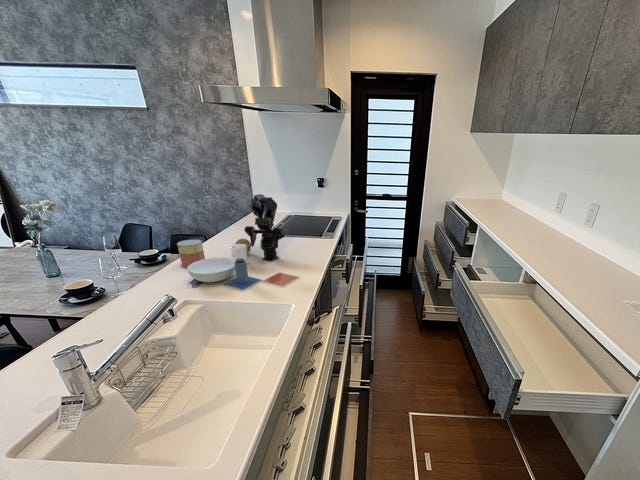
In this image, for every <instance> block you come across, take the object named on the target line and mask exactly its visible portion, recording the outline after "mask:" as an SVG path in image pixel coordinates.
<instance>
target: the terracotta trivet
mask: <svg viewBox="0 0 640 480" xmlns="http://www.w3.org/2000/svg"><path fill="white" fill-rule="evenodd" d="M298 278H299V276H296V275H293V274H292V275H291V274H287V273H282V272H278V273H275V274H273V275H272V276H270V277H268V278H266V279H264V280H263V282H264V283H268V284H272V285H276V286H280V287H284V286H286V285H288V284H290V283H291V282H293V281H294V280H297V279H298Z"/></svg>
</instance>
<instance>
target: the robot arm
mask: <svg viewBox="0 0 640 480" xmlns="http://www.w3.org/2000/svg"><path fill="white" fill-rule="evenodd" d="M277 209H278V203H277V202H276V200H274V199H273V197H271V196H270V197H266V196H265V195H264V194H262V193H261V194H254V195H253V198H252V199H251V200H250V210H251V211H252V213H253V215H254V216H256V217H255V218H254V225H255V226H257V228H255V227H254V226H252V225H251V226H250V225H246V226H245V227H244V229H243V231H244V232H245V234H246V235H247V236H249V238H250V243H251V248H254V246H255V243H256V240H257V238H258V237H257V235H258V234H261V239H260V243H259V244H260V249H261V250H262V251H263V257H262V258H261V259H262V260H265V261H269V262H272V261H274V260H277V259H279V256H278V254H277V250H276V249H278V248H279V240H282V239H284V238H285V236H286V232H285V231H284V230H283V228H282V227H275V224H274V221H275V218H276V217H275V216H276V213H277Z"/></svg>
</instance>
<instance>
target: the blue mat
mask: <svg viewBox="0 0 640 480" xmlns="http://www.w3.org/2000/svg"><path fill="white" fill-rule="evenodd" d="M248 278H249V282H248V283H246V284H238V283H237V277H236V278H234V279H231V280H230V281H228V282H225V283H223V284H222V285H223V286H228V287H231V288H235V289H239V290H246V289H247V288H249V287H251V286H253V285H255V284H258V283H260V282H261V281H262V279H260V278H257V277H256V278H255V277H252V276H248Z"/></svg>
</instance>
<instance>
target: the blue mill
mask: <svg viewBox="0 0 640 480" xmlns="http://www.w3.org/2000/svg"><path fill="white" fill-rule="evenodd" d="M234 265H235V276H236V278H237V283H238V284H246V283H248V282H249V278H248V277H249V273H248V272H249V271H248V266H247V265H248V263H247V264H246V261H245V260H244V259H236V261H235V262H234Z"/></svg>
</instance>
